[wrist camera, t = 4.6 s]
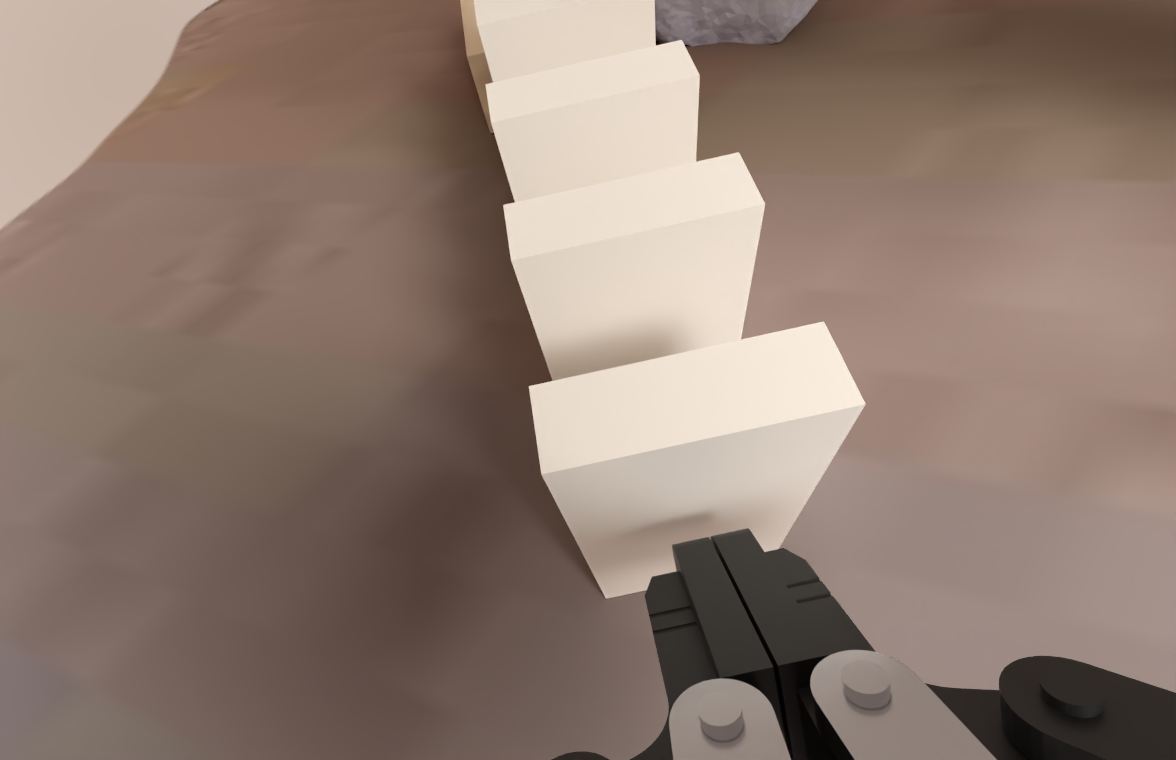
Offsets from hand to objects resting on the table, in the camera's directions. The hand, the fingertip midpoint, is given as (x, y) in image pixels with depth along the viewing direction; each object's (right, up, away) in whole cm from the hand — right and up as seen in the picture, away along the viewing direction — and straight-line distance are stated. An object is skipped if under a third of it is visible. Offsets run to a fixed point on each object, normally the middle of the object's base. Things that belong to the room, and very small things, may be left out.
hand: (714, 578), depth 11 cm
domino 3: (0, +2, +9) cm, 9 cm away
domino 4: (0, -2, +6) cm, 7 cm away
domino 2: (-1, +6, +11) cm, 13 cm away
